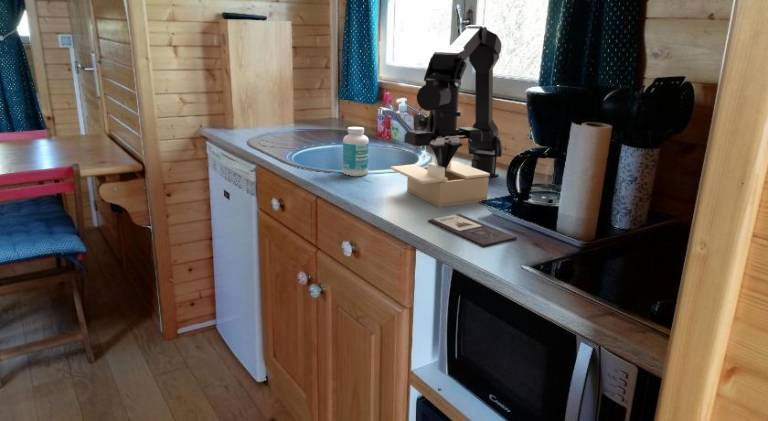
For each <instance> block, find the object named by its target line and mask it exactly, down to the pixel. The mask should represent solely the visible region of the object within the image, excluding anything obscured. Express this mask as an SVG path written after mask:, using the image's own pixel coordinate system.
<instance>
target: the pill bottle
mask: <svg viewBox="0 0 768 421" xmlns="http://www.w3.org/2000/svg"><path fill="white" fill-rule="evenodd" d="M347 133H348V134H346V135H345V136H344V137H343V139H342V173H343V174H344V175H345V174H346V176H348V175H350V177H364V176H366V175H368V174H369V150H370V148H369V146H370V142H369V137H368V136H367V135H366V134H365V135H364V133H365V127H363V126H361V127H360V126H349V127H347Z"/></svg>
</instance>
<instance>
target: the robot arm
mask: <svg viewBox="0 0 768 421" xmlns="http://www.w3.org/2000/svg"><path fill="white" fill-rule="evenodd" d="M501 51H502V41H501V40H500V38H499V36H498V34H496V33H493V32H492V31H490V30H489V29H488V28H487V27H486V26H484V25H483V24H482V25H481V24H478V25H477V24H476V25H475V24H469V25H466V26H465V27H464V29H463V31H462V33H461V34H460V35H458V37H457V38H456V39H454V41H453V42H452V43H451V44H450V45H448V46H445V47H441V48H439V49H437V50H435V51H434V52H433V53H432V55H431V57H430V59H429V62H428V66H427V68H426V72H425V74H424V78H423V82H425V84H424V85H423V86H422V87H420V89H418V92H417V94H416V102H417V104H418V107H419V108H421V109H423V111H426V112H429V114H428V116H424V114H416V115H414V117H413V127H414V129H413V130H407V131H406V132H405V134H404V143H406V144H409V145H412V146H414V147H425V146H427V147H428V146H429V147H430V148H431V150H432V151H433V154H434V158H435V157H436V160H437V163H438V165H439V166H442V167H444V168H445V170H446V168H447V166H448V165H449V163H450V161H452V159H453V157H454V156H455V154H456V153H457V151H458V149H459V148H460V147H463V143H460V140H462V139H463V140H464V139H467V144H468V145H467V146H468V148H467V149H468V155H472V159H471V166H470V167H473V168H476V169H478V170H481V171H484V172H487V173H490V176H487V177H489V178H495V177H499V176H500V174H498V173H496V171H497V170H496V169H497V159H498V158H499V157H502V153H503V146H502V140H501V137H500V136H499V128H498V126H497V124H496V123H495V122H494V120H493V108H494V107H493V105H494V103H493V98H494V95H493V93H494V85H493V83H494V67H495V66H496V64H497V62H498V61H499V59H500V54H501ZM467 59H468V61H469V64H470V65H471V66H472V68H473V70H474V73H475V74H474V75H475V76H474V77H475V80H474V81H475V82H474V84H475V86H474V87H475V88H474V89H475V91H474V92H475V95H474V96H475V97H474V98H475V106H474V107H475V109H474V110H475V117H474V118H475V119H474V120H475V122H474V124H473V125H472V126H462V127H458V117H461V114H462V112H461V111H458V110H459V91H460V87H461V85H462V84H461V80H462V78H463V75H464V74H465V71H466V69H467V65H468V64H467ZM457 127H458V128H457Z"/></svg>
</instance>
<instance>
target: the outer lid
mask: <svg viewBox="0 0 768 421" xmlns="http://www.w3.org/2000/svg"><path fill="white" fill-rule="evenodd" d="M422 167H423V166H419V165H418V164H417V165H416V164H413V163H412V164H405V165H393V166H390V170H392V171H394V172H397V173H398V174H400V175H403V176H404V177H406V178H408V177H409V178H411V179H413V180H415V181H418V182H420V183H422V184H425V183H433V182H442V181H448V178H446V177H445V168H444V167H442V166H439V165H437V164H434V163H433V162H427V166H426V167H427V169H424V168H422Z"/></svg>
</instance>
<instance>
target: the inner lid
mask: <svg viewBox="0 0 768 421" xmlns="http://www.w3.org/2000/svg"><path fill="white" fill-rule="evenodd" d="M432 163H434V164H437V165H438V163H437V160H436V157H435V156H434V162H432ZM446 171H448V172H451V173H453V174H456V175H458V176H461V177H463V178H466V179H468V178H477V177H486V176H490V173H487V172H484V171H481V170H478V169H476V168H473V167H471V166H470V165H467V164H464V163H462V162H459V161H456V160H451V161H450V163H449V165H448V166H447V168H446Z"/></svg>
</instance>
